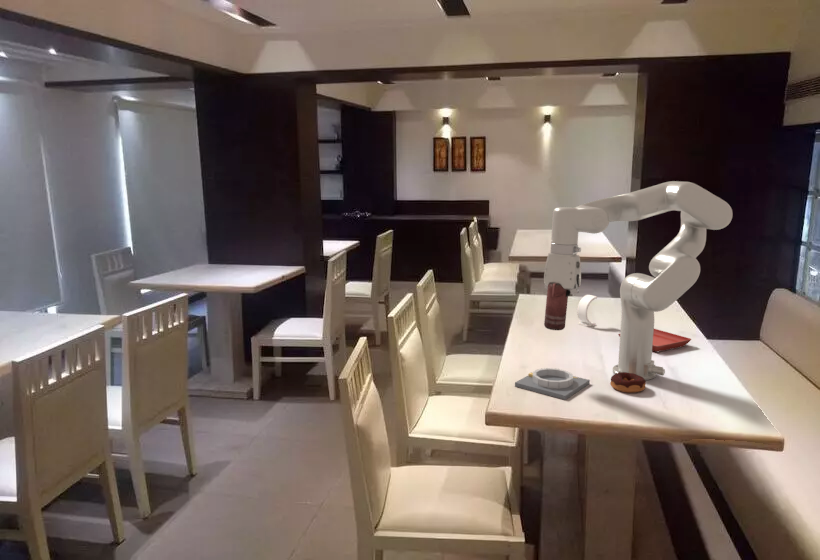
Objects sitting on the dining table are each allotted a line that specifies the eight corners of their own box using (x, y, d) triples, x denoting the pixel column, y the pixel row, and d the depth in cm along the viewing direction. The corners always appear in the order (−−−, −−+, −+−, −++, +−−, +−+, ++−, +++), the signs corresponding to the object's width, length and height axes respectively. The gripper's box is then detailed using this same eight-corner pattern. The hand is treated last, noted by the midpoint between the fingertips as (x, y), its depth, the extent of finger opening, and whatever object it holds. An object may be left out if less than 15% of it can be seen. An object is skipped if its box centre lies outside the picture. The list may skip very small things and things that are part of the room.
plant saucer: (616, 342, 218) (617, 333, 218) (650, 335, 226) (651, 327, 226) (656, 355, 203) (657, 346, 202) (691, 348, 211) (692, 339, 210)
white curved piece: (595, 325, 240) (597, 296, 238) (584, 327, 237) (586, 298, 235) (587, 322, 244) (588, 294, 241) (576, 324, 241) (577, 296, 239)
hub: (589, 383, 176) (589, 373, 175) (565, 399, 164) (565, 388, 163) (541, 372, 186) (541, 362, 185) (514, 386, 174) (515, 376, 173)
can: (541, 328, 176) (545, 282, 173) (547, 323, 181) (551, 279, 178) (561, 332, 173) (565, 285, 170) (567, 327, 178) (571, 282, 175)
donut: (617, 379, 179) (617, 367, 179) (650, 387, 173) (651, 374, 172) (604, 389, 172) (605, 376, 171) (638, 397, 165) (639, 384, 165)
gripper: (593, 251, 170) (588, 313, 173) (547, 246, 180) (544, 304, 183) (581, 253, 164) (576, 317, 168) (534, 248, 175) (531, 308, 178)
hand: (559, 310), depth 176 cm, fingers closed
